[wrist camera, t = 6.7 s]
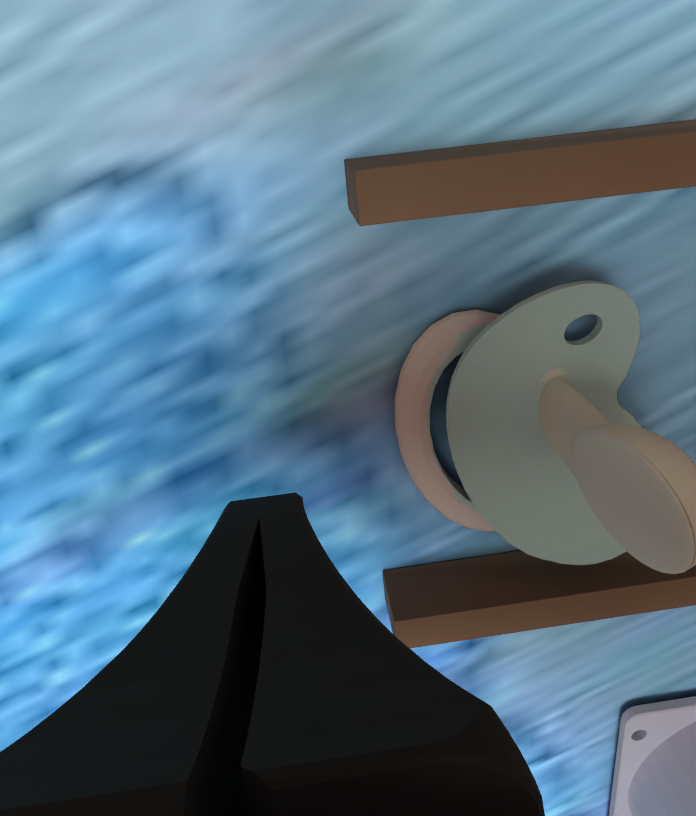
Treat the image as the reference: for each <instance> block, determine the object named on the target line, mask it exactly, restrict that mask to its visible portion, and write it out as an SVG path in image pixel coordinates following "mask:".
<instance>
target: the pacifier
mask: <svg viewBox="0 0 696 816" xmlns="http://www.w3.org/2000/svg"><path fill="white" fill-rule="evenodd" d="M588 314H594V315H596V317H597V323H596V326H595V327H594V329H593V330H592V331H591V333H590V334H588V335H587V336H585V337H584V338H582V339H579V340H576V341H567V340H565V338H564V333H565V330H566V328H567V326H568V325H569V324H570V323H571V322H572V321H573V320H575V319H576V318H578V317H581V316H583V315H588ZM639 334H640V319H639V312H638V309H637V307H636V304H635V302H634V300H633V299H632V298H631V297H630V296H629V295H628V294H627V293H626V292H625V291H624V290H621V289H619V288H617V287H615V286H613V285H611V284H608V283H605V282H599V281H594V280H588V281H576V282H572V283H567V284H562V285H558V286H555V287H552V288H550V289H547V290H544V291H542V292H539V293H537V294H535V295H533V296H531V297H529V298H527V299H525V300H523V301H521V302H519V303H518V304H516V305H515V306H513V307H512V308H510V309H509V310H507V311H506V312H504V313H503V314H501V315H500V314H495V313H490V312H486V311H481V310H470V311H463V312H456V313H452V314H450V315H448V316H446V317H445V318H443V319H441V320H439V321H437V322H436V323H434V324H432V325H430V327H429V328H428V329H427V330H426V331H425V332H424V333H423V334H422V335H421V336H420V338H419V339H418V340H417V341H416V342H415V343H414V344H413V346H412V348H411V350H410V352H409V354H408V356H407V358H406V360H405V362H404V364H403V366H402V368H401V371H400V376H399V381H398V385H397V390H396V395H395V430H396V434H397V439H398V443H399V448H400V452H401V457H402V459H403V461H404V463H405V465H406V468H407V470H408V472H409V474H410V476H411V479H412V481H413V483H414V484H415V485H416V487H417V488H418V489H419V491H420V492H421V493H422V495H423V496H424V497H425V499H426V500H427V501H428V503H429V504H431V505H432V506H433V507H434V508H435V509H437V510H438V511H439V512H440V513H441V514H443V515H444V516H445V517H446V518H447V519H449V520H451V521H454V522H456V523H458V524H460V525H462V526H464V527H466V528H468V529H475V530H481V531H488V532H491V531H496V532H497V533H498V534H500V535H501V536H502V537H503V538H504V539H505V540H506V541H507V542H508V543H509V544H511V545H513V546H514V547H516V548H518V549H520V550H521V551H523V552H525V553H526V554H528V555H531V556H534V557H537V558H540V559H543V560H550V561H553V562H557V563H560V564H572V565H588V564H597V563H600V562H603V561H606V560H611V559H613V558H615V557H617V556H619V555H621V554H622V553H624V552H626V551H627V552H628V553H629V554H631V555H632V556H633V557H634V558H636V559H637V560H639V561H640V562H642V563H643V564H645V565H646V566H648V567H650V568H652V569H654V570H657V571H660V572H662V573H669V574H678V573H683V572H685V571H687V570H689V569H690V568H692V567H694V566H695V565H696V464H695V463H694V462H693V461H692V460H691V459H690V458H689V457H688V455H687V454H685V453H684V452H683V451H682V450H681V449H680V448H679V447H677V446H676V445H674V444H673V443H672V442H670V441H669V440H667V439H666V438H664V437H662V436H660V435H658V434H656V433H654V432H652V431H649V430H647V429H644V428H642V427H641V425H640V424H639V423H638V422H637V421H636V419H635V418H634V417H633V416H632V415H631V414H630V413H629V412H628V411H627V410H625V409H624V408H622V407H621V406H620V404H619V402H618V399H617V390H618V388H619V386H620V385H621V383H622V382H623V380H624V378H625V377H626V375H627V372H628V370H629V368H630V366H631V364H632V362H633V359H634V355H635V352H636V349H637V346H638V340H639ZM463 352H464V353H463ZM461 353H463V354H462V356H461V358H460V359H459V361H458V364H457V366H456V368H455V371H454V373H453V376H452V378H451V381H450V385H449V391H448V396H447V402H446V427H447V435H448V440H449V446H450V450H451V454H452V458H453V462H454V465H455V467H456V470H457V473H458V475H459V478H460V480H461V482H462V485H463V487H464V488H462V487H461V486H459V485H458V484H457V483H456V482H455V481H454V480H453V479H452V478H451V477H450V476H449V475H448V474H447V473H446V471H445V470H444V468H443V467H442V465H441V464H440V462H439V461H438V459H437V457H436V454H435V452H434V448H433V443H432V438H431V433H430V407H431V402H432V397H433V393H434V388H435V386H436V384H437V382H438V380H439V378H440V376H441V374H442V372H443V370H444V369H445V368H446V367H447V365H448V364H449V363H450V362H451V361H452V360H453V359H454V358H455V357H456V356H458V355H459V354H461Z"/></svg>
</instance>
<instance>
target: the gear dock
mask: <svg viewBox="0 0 696 816" xmlns="http://www.w3.org/2000/svg"><path fill="white" fill-rule="evenodd" d="M344 163H345V174H346V185H347V195H348V206H349V210H350V211H351V213H352V215H353V216H354V218H355V219H356V221H357V223H358V224H359V226H365V225H373V224H382V223H390V222H398V221H407V220H415V219H424V218H432V217H440V216H449V215H457V214H466V213H474V212H482V211H491V210H499V209H507V208H516V207H524V206H533V205H541V204H549V203H558V202H566V201H575V200H583V199H591V198H600V197H608V196H616V195H625V194H633V193H642V192H650V191H658V190H667V189H675V188H684V187H692V186H696V120H688V121H679V122H670V123H661V124H653V125H644V126H635V127H626V128H617V129H609V130H600V131H591V132H582V133H574V134H565V135H556V136H547V137H538V138H530V139H521V140H512V141H503V142H495V143H486V144H477V145H468V146H460V147H451V148H442V149H433V150H424V151H416V152H407V153H398V154H389V155H381V156H372V157H363V158H354V159H346V160H344ZM383 581H384V592H385V600H386V604H387V609H388V613H389V618H390V622H391V627H392V631H393V635H395V636H396V637H397V638H398V639H399V640H400V641H402V642H403V643H404V644H405V645H406V646H407V647H408V648H415V647H422V646H428V645H435V644H442V643H448V642H455V641H461V640H468V639H475V638H481V637H488V636H494V635H501V634H507V633H514V632H521V631H527V630H534V629H540V628H547V627H553V626H560V625H567V624H573V623H580V622H586V621H593V620H600V619H606V618H613V617H619V616H626V615H632V614H639V613H646V612H652V611H659V610H665V609H672V608H678V607H685V606H692V605H696V565H695V566H694V567H692V568H690V569H689V570H687V571H685V572H683V573H678V574H669V573H662V572H660V571H657V570H654V569H652V568H650V567H648V566H646V565H645V564H643V563H642V562H640V561H639V560H637V559H636V558H634V557H633V556H632V555H631V554H629V553H628V552H627V551H626V552H624V553H622V554H621V555H619V556H617V557H615V558H613V559H611V560H606V561H603V562H600V563H597V564H588V565H572V564H560V563H557V562H553V561H550V560H543V559H540V558H537V557H534V556H531V555H528V554H526V553H525V552H523V551H515V552H508V553H501V554H494V555H487V556H480V557H473V558H467V559H460V560H453V561H446V562H439V563H432V564H425V565H418V566H412V567H405V568H398V569H391V570H384V571H383Z"/></svg>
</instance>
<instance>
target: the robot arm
mask: <svg viewBox="0 0 696 816" xmlns="http://www.w3.org/2000/svg"><path fill="white" fill-rule="evenodd" d="M0 816H545V814H544V808H543V801H542V796H541V794H540V791H539V789H538V786H537V784H536V781H535V779H534V777H533V775H532V773H531V771H530V769H529V767H528V765H527V763H526V761H525V759H524V758H523V756H522V754H521V752H520V750H519V748H518V747H517V745H516V743H515V742H514V740H513V739H512V737H511V735H510V734H509V732H508V730H507V729H506V727H505V726H504V724H503V723H502V721H501V720H500V718H499V717H498V715H497V714H496V713H495V711H494V710H493V708H492V707H491V706H490V705H488V704H487V703H485V702H484V701H482V700H480V699H479V698H477V697H475V696H474V695H472V694H471V693H469V692H467V691H466V690H464V689H463V688H461V687H459V686H458V685H456V684H455V683H453V682H452V681H450V680H449V679H448V678H446V677H445V676H443V675H442V674H441V673H439V672H438V671H437V670H435V669H434V668H433V667H431V666H430V665H429V664H427V663H426V662H425V661H423V660H422V659H421V658H420V657H419V656H418V655H417V654H415V653H414V652H413V651H412V650H411V649H410V648H408V647H407V646H406V645H405V644H404V643H403V642H402V641H400V640H399V639H398V638H397V637H396V636H395V635H393V634H392V633H391V632H390V631H389V630H388V629H387V628H386V627H385V626H384V625H383V624H382V623H381V622H380V621H379V620H378V619H377V618H376V617H375V616H374V615H373V614H372V612H371V611H370V610H369V609H368V608H367V607H366V606H365V605H364V604H363V602H362V601H361V600H360V599H359V598H358V597H357V595H356V594H355V593H354V592H353V590H352V589H351V588H350V587H349V585H348V584H347V583H346V581H345V580H344V579H343V577H342V576H341V575H340V573H339V572H338V570H337V569H336V568H335V566H334V565H333V563H332V562H331V560H330V559H329V557H328V555H327V554H326V552H325V550H324V549H323V547H322V545H321V544H320V542H319V540H318V539H317V537H316V535H315V533H314V531H313V529H312V527H311V525H310V522H309V520H308V518H307V515H306V513H305V510H304V506H303V499H302V497H301V496H300V495H298V494H297V493H289V494H282V495H274V496H267V497H260V498H252V499H245V500H238V501H230V502H229V504H228V505H227V506H226V507H225V509H224V511H223V513H222V514H221V516H220V518H219V520H218V522H217V523H216V525H215V527H214V529H213V530H212V532H211V534H210V535H209V537H208V539H207V540H206V542H205V544H204V545H203V547H202V549H201V550H200V552H199V553H198V555H197V556H196V558H195V559H194V561H193V562H192V564H191V565H190V567H189V568H188V570H187V572H186V573H185V574H184V576H183V577H182V579H181V580H180V581H179V583H178V584H177V585H176V587H175V588H174V589H173V591H172V592H171V593H170V595H169V596H168V597H167V599H166V600H165V602H164V603H163V604H162V606H161V607H160V608H159V609H158V611H157V612H156V613H155V614H154V615H153V617H152V618H151V619H150V620H149V622H148V623H147V624H146V625H145V626H144V627H143V629H142V630H141V631H140V632H139V633H138V634H137V635H136V636H135V638H134V639H133V640H132V641H131V642H130V643H129V644H128V645H127V646H126V647H125V648H124V649H123V650H122V651H121V652H120V653H119V654H118V655H117V656H116V657H115V658H114V659H113V660H112V661H111V662H110V663H109V664H108V665H107V666H106V667H105V668H104V669H102V670H101V671H100V672H99V673H98V674H97V675H96V676H95V677H94V678H93V679H92V680H91V681H90V682H89V683H88V684H87V685H85V686H84V687H83V688H82V689H81V690H80V691H79V692H78V693H76V694H75V695H74V696H73V697H72V698H70V699H69V700H68V701H67V702H66V703H64V704H63V705H62V706H61V707H60V708H58V709H57V710H56V711H55V712H54V713H52V714H51V715H50V716H48V717H47V718H46V719H45V720H43V721H42V722H41V723H39V724H38V725H37V726H36V727H34V728H33V729H32V730H31V731H29V732H28V733H26V734H25V735H24V736H22V737H21V738H20V739H18V740H17V741H16V742H14V743H13V744H11V745H10V746H9V747H7V748H6V749H4V750H3V751H1V752H0ZM609 816H696V696H693V697H687V698H681V699H675V700H668V701H662V702H656V703H649V704H643V705H637V706H633V707H630V708H629V709H627V710H626V711H625V712H624V713H623V714H622V717H621V722H620V730H619V738H618V746H617V754H616V762H615V770H614V777H613V785H612V793H611V801H610V809H609Z"/></svg>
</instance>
